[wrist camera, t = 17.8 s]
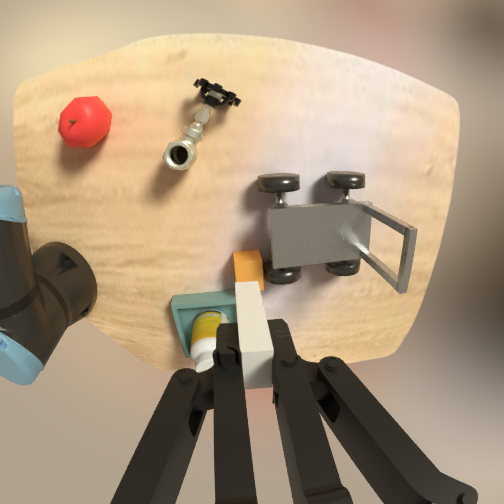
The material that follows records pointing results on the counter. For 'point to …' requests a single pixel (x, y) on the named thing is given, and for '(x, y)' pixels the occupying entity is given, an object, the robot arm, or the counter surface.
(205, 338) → the pill bottle
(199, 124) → the valve
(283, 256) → the trolley
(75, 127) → the apple
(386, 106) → the counter surface
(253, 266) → the block
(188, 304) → the tray
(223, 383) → the robot arm
